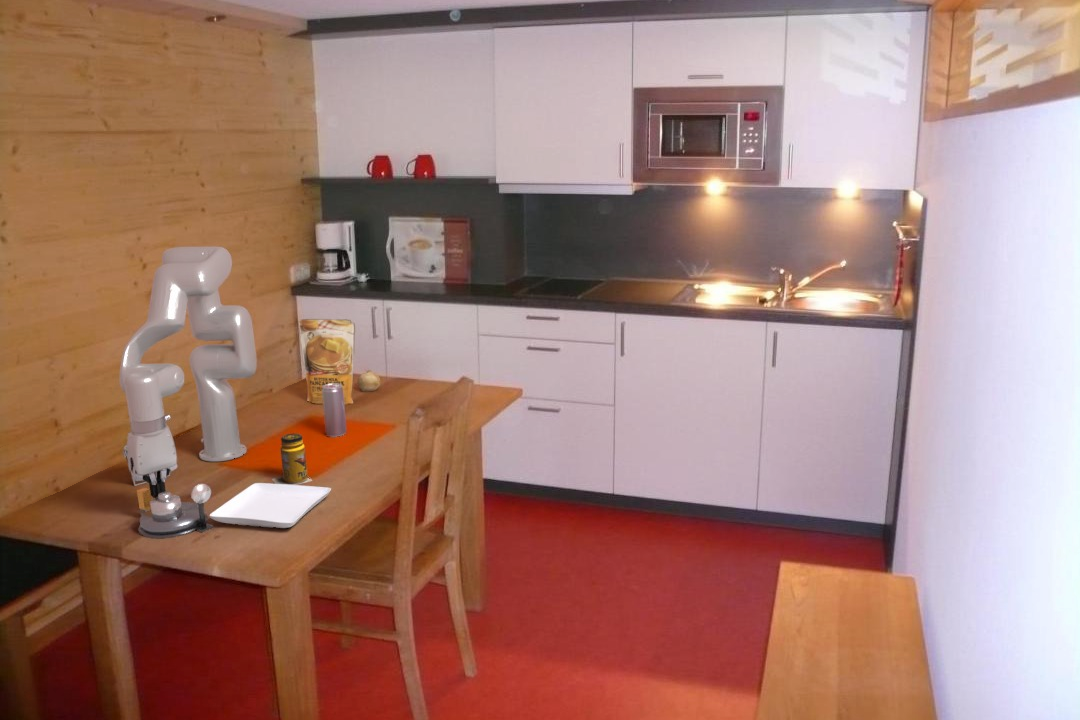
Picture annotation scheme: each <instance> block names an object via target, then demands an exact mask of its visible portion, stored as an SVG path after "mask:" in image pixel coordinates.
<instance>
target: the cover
mask: <svg viewBox="0 0 1080 720" xmlns="http://www.w3.org/2000/svg"><path fill="white" fill-rule="evenodd" d="M158 496H159V497H157V498H153V499H151V502H150V505H151V512H152V519H153V521H155V522H169V521H173V520H176V519H178V518H180V517H181V516H182V507H181V502H182V501H181V496H179V495H177V494H172V492H170V491H166V492H162V493H159V494H158Z"/></svg>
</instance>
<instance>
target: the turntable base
mask: <svg viewBox="0 0 1080 720" xmlns="http://www.w3.org/2000/svg"><path fill="white" fill-rule="evenodd" d="M205 519H206V523H208V521H209V515H208V514H207V513H206V512H205ZM199 525H201V524H199ZM197 526H198V525H197ZM195 530H196V528H194V527H193V528H191V529H188V530H185V531H182V532H178V533H172V534H162V535H157V534H149V533H146V532H144V531H142V530H141V526H140V525H139V526H138V533H139V534H140V535H141V536H142V535H143V537H146V538H149V539H170V538H175V537H176V536H177V537H181V536H184V534H185V535H188V534H190V532H191V533H193V532H195ZM192 531H193V532H192ZM196 531H197V530H196ZM187 533H188V534H187Z"/></svg>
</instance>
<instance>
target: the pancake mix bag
mask: <svg viewBox="0 0 1080 720" xmlns="http://www.w3.org/2000/svg"><path fill="white" fill-rule="evenodd" d="M297 324H298V325H297V326H298V331H299V333H298V334H299V339H300V346H301V354H302V362H303V365H304V372H305V379H306V385H307V400H306V402H307V401H309V402H308V403H311V402H312V403H315V405H323V395H322V389H323V388H322V387H323V386H324V385H326V384H332V383H338V384H341V385H342V388H343V396H344V406H347V405H351V404H354V401H353V398H352V389H353V374H354V363H355V358H354V357H355V340H356V339H355V336H356V335H355V334H356V324H355V322H352V320H351V319H344V318H343V319H331V318H303V319H302V318H301V319H300V320H298V321H297ZM312 403H311V404H312Z"/></svg>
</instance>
